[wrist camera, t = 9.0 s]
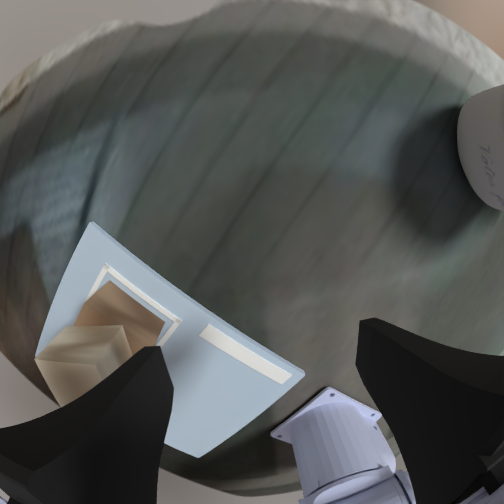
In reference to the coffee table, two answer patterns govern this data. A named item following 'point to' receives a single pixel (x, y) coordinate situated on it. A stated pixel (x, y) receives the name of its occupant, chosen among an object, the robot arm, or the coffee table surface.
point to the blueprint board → (179, 345)
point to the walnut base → (121, 316)
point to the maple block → (82, 359)
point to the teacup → (483, 144)
